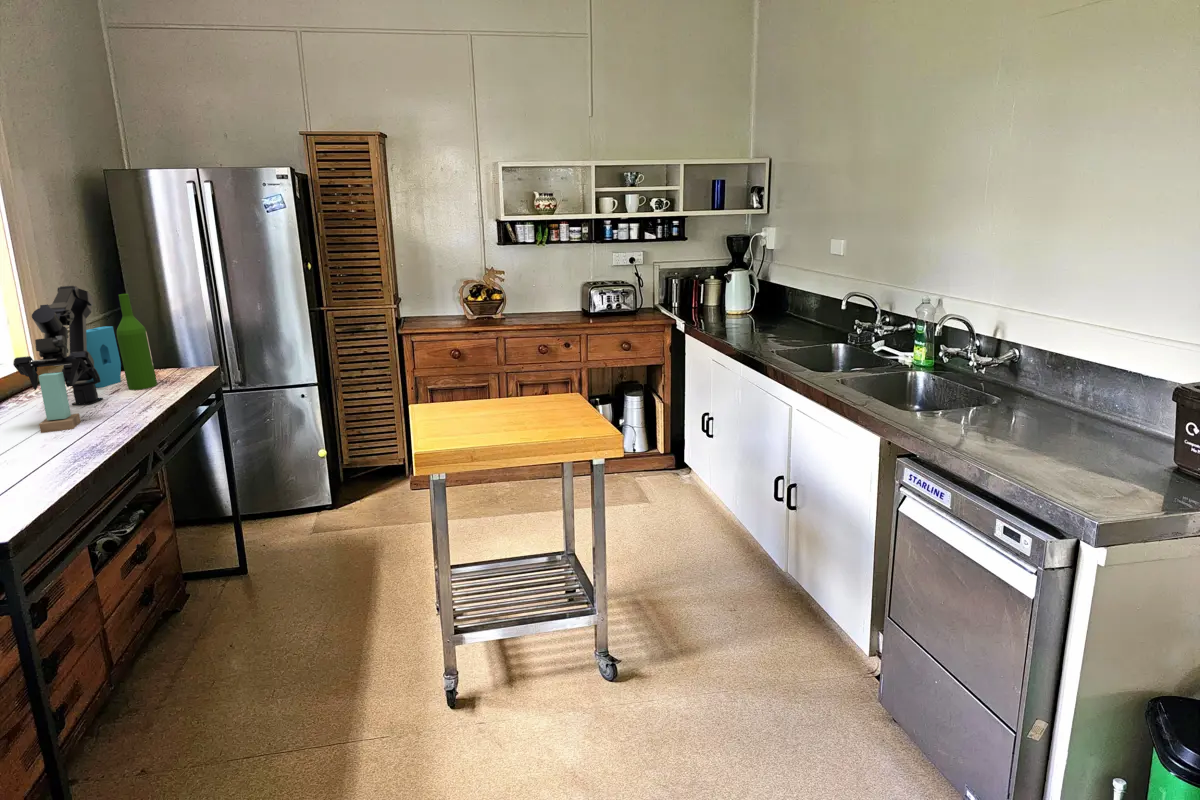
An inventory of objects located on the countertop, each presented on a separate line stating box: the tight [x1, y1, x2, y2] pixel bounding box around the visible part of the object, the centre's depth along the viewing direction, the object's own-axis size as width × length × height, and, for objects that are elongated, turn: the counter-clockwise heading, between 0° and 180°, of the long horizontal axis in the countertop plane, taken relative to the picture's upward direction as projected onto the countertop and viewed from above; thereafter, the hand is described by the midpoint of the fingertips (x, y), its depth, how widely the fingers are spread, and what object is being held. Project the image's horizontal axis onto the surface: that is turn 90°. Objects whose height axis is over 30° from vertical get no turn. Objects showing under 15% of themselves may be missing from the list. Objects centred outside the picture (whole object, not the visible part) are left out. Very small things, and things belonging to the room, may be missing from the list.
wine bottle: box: [116, 293, 158, 391], centre depth 266 cm, size 9×9×32 cm
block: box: [86, 325, 122, 389], centre depth 273 cm, size 12×5×20 cm, turn 164°
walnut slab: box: [38, 413, 82, 434], centre depth 224 cm, size 8×8×3 cm
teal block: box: [38, 371, 72, 420], centre depth 223 cm, size 5×5×13 cm
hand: (53, 386), depth 223 cm, fingers open, 9 cm apart
